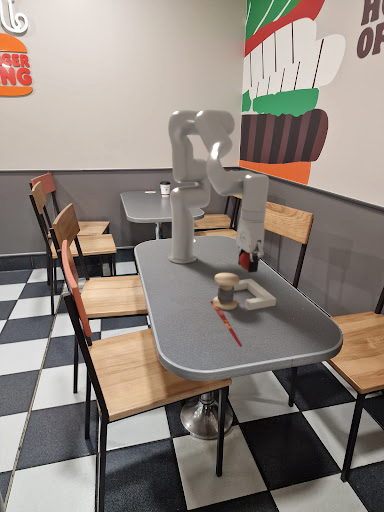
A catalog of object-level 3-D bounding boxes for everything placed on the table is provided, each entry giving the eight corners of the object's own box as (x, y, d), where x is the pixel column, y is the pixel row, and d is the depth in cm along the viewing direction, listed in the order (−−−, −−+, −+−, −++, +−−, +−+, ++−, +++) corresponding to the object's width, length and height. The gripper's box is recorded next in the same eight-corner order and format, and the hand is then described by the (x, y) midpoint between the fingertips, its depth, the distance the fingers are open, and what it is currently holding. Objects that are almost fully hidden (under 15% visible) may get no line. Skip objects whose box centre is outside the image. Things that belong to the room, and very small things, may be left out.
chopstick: (238, 348, 84) (238, 345, 84) (210, 303, 106) (210, 300, 105) (245, 347, 85) (245, 344, 84) (215, 302, 106) (216, 300, 106)
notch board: (226, 288, 115) (227, 282, 114) (250, 284, 119) (251, 278, 118) (248, 310, 101) (249, 303, 100) (275, 305, 105) (276, 298, 104)
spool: (209, 299, 107) (210, 274, 103) (230, 296, 110) (232, 271, 106) (219, 311, 100) (221, 284, 96) (241, 307, 103) (244, 281, 99)
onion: (237, 266, 109) (239, 244, 106) (254, 267, 108) (256, 245, 105) (239, 274, 103) (241, 251, 100) (257, 274, 103) (259, 251, 100)
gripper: (229, 209, 105) (225, 259, 112) (256, 223, 90) (250, 280, 97) (249, 208, 108) (244, 257, 114) (279, 221, 93) (271, 277, 99)
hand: (247, 267), depth 105 cm, fingers closed on onion, 5 cm apart
